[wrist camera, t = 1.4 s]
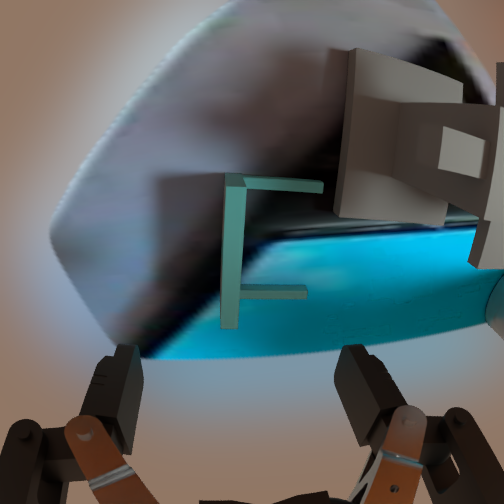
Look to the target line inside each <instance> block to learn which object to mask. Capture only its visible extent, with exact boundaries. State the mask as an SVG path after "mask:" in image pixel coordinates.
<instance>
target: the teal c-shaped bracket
mask: <svg viewBox="0 0 504 504" xmlns="http://www.w3.org/2000/svg"><path fill="white" fill-rule="evenodd" d="M323 186H324V183H323V182H322V181H320V180H309V179H297V178H284V177H269V176H252V175H242V174H238V173H225V182H224V201H223V223H222V248H221V277H220V319H221V329H238V316H239V300H240V299H307V294H308V290H307V288H306V286H305V285H248V284H240V283H241V268H242V252H243V237H244V221H245V207H246V192H247V189H265V190H282V191H297V192H310V193H323Z"/></svg>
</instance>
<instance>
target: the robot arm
mask: <svg viewBox="0 0 504 504" xmlns="http://www.w3.org/2000/svg"><path fill="white" fill-rule="evenodd" d="M485 318H486V322H487V323H488V325H489V326H490V327H491V328H492V329H493V330H494V331H495V332H496V333H497V334H498V335H499V336H500V337H501V338H502V339H503V340H504V276H503V277H502V278H501V279H500V281H499V282H498V283H497V285H496V286H495V288H494V290H493V292H492V294H491V296H490V298H489V301H488V304H487V308H486V317H485ZM143 380H144V377H143V370H142V365H141V359H140V354H139V348H138V346H137V345H128V344H118V345H117V348H116V351H115V354H114V356H105V357H104V358H103V359H102V360H101V361H100V362H99V363H98V364H97V366H96V369H95V371H94V374H93V377H92V380H91V384H90V385H89V388H88V391H87V393H86V396H85V399H84V402H83V405H82V408H81V411H80V413H79V416H76V417H74V418H72V419H71V420H70V421H69V422H68V423H67V424H66V426H64V427H59V428H48V429H47V428H46V429H42V428H41V427H40V425H39V424H38V423H37V422H35V421H33V420H29V419H22V420H19V421H17V422H15V423H14V424H13V425H12V426H11V427H10V429H9V431H8V434H7V437H6V440H5V443H4V446H3V449H2V451H1V455H0V504H66V499H67V492H68V486H69V482H72V481H84V480H87V481H88V483H89V487H90V488H91V490H92V492H93V494H94V496H95V497H96V499H97V501H98V502H99V504H159V502H158V501H157V500H156V499H155V497H154V496H153V495H152V494H151V493H150V491H149V490H148V488H147V487H146V486H145V485H144V483H143V482H142V481H141V479H140V478H139V476H138V475H137V474H136V473H135V471H134V470H133V469H132V468H131V467H129V465H128V464H127V463H126V461H125V460H124V458H123V457H122V455H123V454H126V455H131V454H132V448H133V441H134V435H135V429H136V423H137V418H138V412H139V407H140V401H141V396H142V391H143V383H144V381H143ZM334 384H335V387H336V389H337V392H338V394H339V397H340V399H341V402H342V404H343V407H344V409H345V411H346V414H347V416H348V419H349V421H350V424H351V426H352V428H353V431H354V434H355V436H356V439H357V441H358V444H359V446H360V447H361V446H366V445H370V447H371V449H372V450H371V451H370V453H369V455H368V458H367V460H366V463H365V465H364V468H363V470H362V472H361V475H360V477H359V479H358V481H357V483H356V486H355V488H354V489H353V491H352V493H351V494H350V496H349V498H348V499H347V500H342V499H339V498H329V495H328V492H327V491H322V492H316V493H309V494H302V495H297V496H294V497H291V498H288V499H285V500H282V501H279V502H276V503H273V504H413V501H414V498H415V494H416V491H417V488H418V484H419V480H420V476H421V475H422V478H423V480H424V482H425V485H426V487H427V490H428V492H429V495H430V498H431V500H432V503H433V504H504V471H503V469H502V467H501V465H500V463H499V462H498V460H497V458H496V456H495V454H494V453H493V451H492V449H491V447H490V446H489V444H488V442H487V440H486V439H485V437H484V435H483V433H482V432H481V430H480V428H479V427H478V425H477V423H476V422H475V420H474V418H473V417H472V415H471V414H470V413H469V412H468V411H466V410H465V409H463V408H459V407H454V408H451V409H449V410H448V411H447V412H446V413H445V415H444V416H443V417H441V416H425V414H424V413H423V411H421V410H420V409H419V408H417V407H415V406H410V405H408V404H407V403H406V401H405V399H404V397H403V396H402V394H401V392H400V391H399V389H398V387H397V386H396V384H395V382H394V381H393V380H392V377H391V375H390V374H389V373H388V370H387V369H386V368H385V366H384V364H383V362H382V361H380V360H379V359H378V358H377V357H375V356H374V355H369V354H368V352H367V350H366V349H365V347H364V346H363V345H362V344H353V345H344V346H343V347H342V350H341V353H340V356H339V360H338V363H337V366H336V369H335V373H334ZM451 454H452V455H453V457H454V460H455V462H456V463H457V466H458V468H459V472H460V475H459V473H458V471H457V469H456V467H455V465H454V463H453V461H452V459H451V457H450V456H451ZM199 504H250V503H244V502H238V501H232V500H230V501H229V500H228V501H202V500H200V501H199Z"/></svg>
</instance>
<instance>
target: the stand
mask: <svg viewBox="0 0 504 504" xmlns="http://www.w3.org/2000/svg"><path fill="white" fill-rule="evenodd" d="M496 64H497V66H496V67H497V69H496V70H497V71H496V72H497V73H496V74H497V75H496V79H497V80H496V106H492V105H480V104H464V103H462V93H463V83H461V82H458V81H456V80H454V79H451V78H449V77H446V76H444V75H441V74H439V73H436V72H434V71H431V70H428V69H425V68H423V67H420V66H417V65H414V64H411V63H408V62H405V61H402V60H399V59H396V58H392V57H389V56H386V55H382V54H379V53H375V52H371V51H368V50H364V49H360V48H355V49H353V50H350V51H349V58H348V74H347V88H346V101H345V112H344V123H343V133H342V143H341V152H340V161H339V169H338V177H337V185H336V192H335V199H334V206H333V212H334V213H335V214H336V215H337V216H339V217H345V218H360V219H373V220H386V221H398V222H409V223H420V224H431V225H441V226H443V225H444V221H445V217H446V212H447V207H448V202H449V203H451V204H453V205H455V206H457V207H459V208H461V209H463V210H465V211H467V212H469V213H471V214H473V215H475V216H477V217H479V221H478V225H477V229H476V233H475V237H474V240H473V244H472V248H471V251H470V255H469V258H468V261H467V262H468V263H470V264H471V265H472V266H474V267H475V268H476V269H504V62H501V63H500V62H499V63H496Z"/></svg>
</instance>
